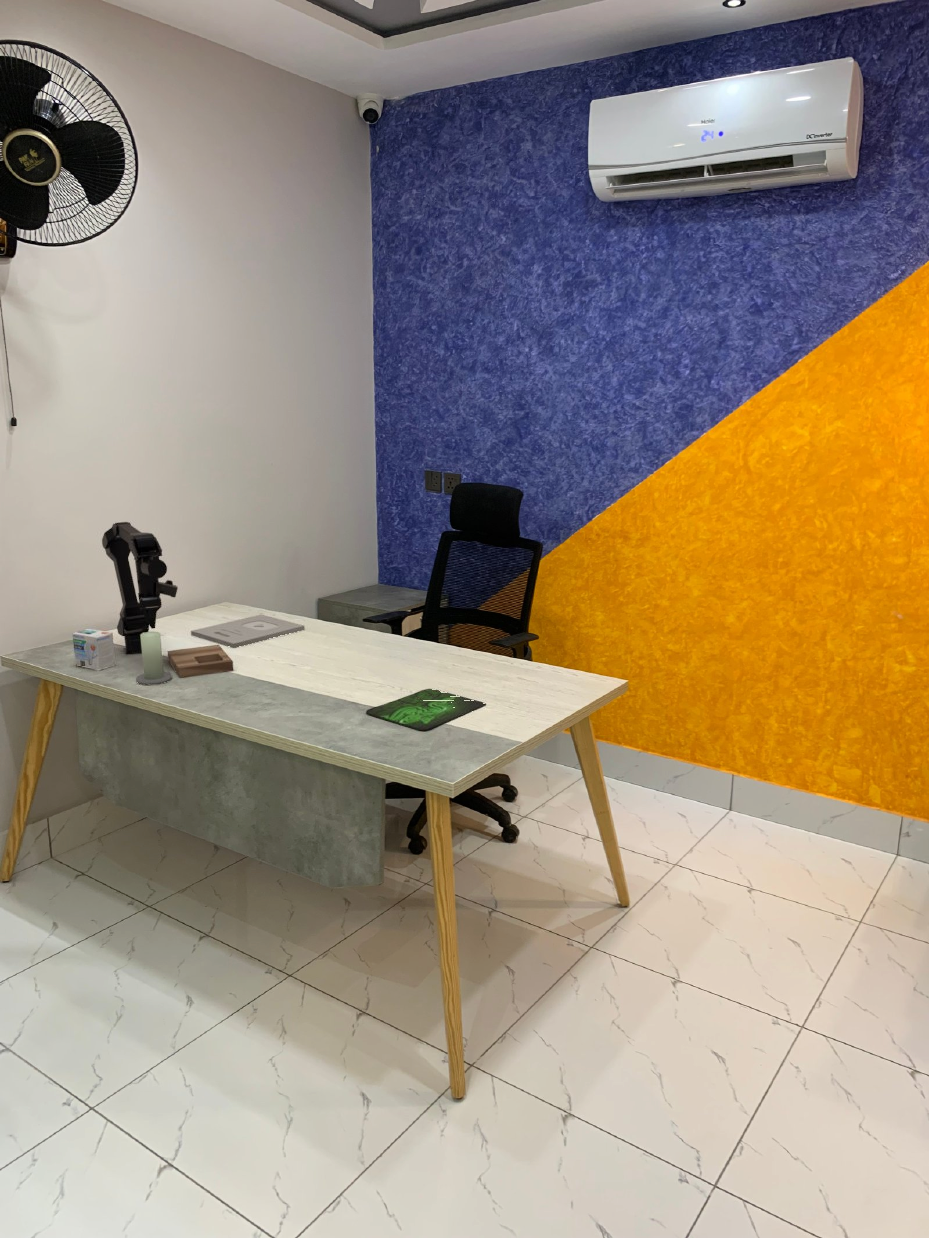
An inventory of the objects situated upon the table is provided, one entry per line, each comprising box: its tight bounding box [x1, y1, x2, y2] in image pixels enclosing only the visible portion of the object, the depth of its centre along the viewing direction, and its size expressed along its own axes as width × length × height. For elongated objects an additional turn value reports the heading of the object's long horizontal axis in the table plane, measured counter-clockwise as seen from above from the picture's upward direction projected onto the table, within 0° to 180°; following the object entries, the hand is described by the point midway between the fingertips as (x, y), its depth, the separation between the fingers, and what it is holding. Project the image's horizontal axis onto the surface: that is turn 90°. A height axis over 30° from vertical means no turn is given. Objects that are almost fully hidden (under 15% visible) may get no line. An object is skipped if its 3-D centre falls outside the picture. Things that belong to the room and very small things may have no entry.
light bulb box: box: [72, 628, 116, 670], centre depth 282 cm, size 11×7×11 cm, turn 62°
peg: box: [140, 631, 165, 680], centre depth 268 cm, size 6×6×13 cm
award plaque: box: [190, 614, 306, 649], centre depth 321 cm, size 25×30×2 cm
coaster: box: [135, 671, 173, 686], centre depth 270 cm, size 10×10×1 cm
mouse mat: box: [365, 688, 487, 732], centre depth 246 cm, size 27×22×1 cm
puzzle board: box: [166, 644, 234, 679], centre depth 284 cm, size 20×16×3 cm
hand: (152, 625), depth 281 cm, fingers open, 9 cm apart
